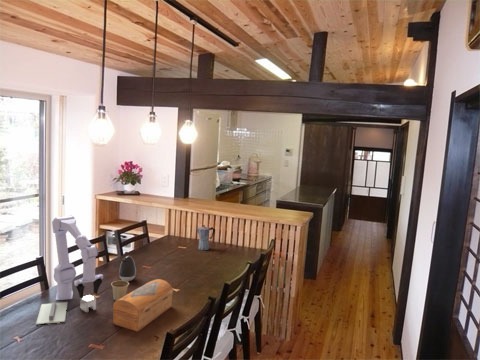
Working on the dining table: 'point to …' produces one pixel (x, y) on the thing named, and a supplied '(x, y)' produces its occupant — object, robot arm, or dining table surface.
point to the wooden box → (142, 305)
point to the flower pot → (119, 289)
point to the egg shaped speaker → (127, 269)
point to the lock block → (88, 303)
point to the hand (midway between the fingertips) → (88, 295)
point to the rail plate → (56, 316)
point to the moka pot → (204, 237)
